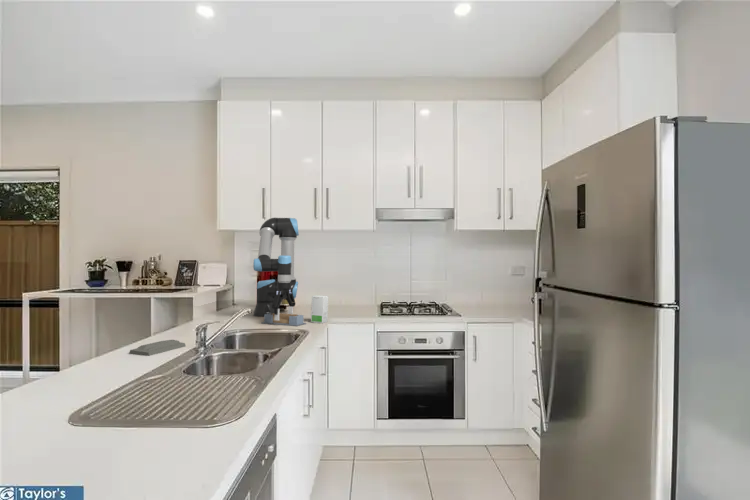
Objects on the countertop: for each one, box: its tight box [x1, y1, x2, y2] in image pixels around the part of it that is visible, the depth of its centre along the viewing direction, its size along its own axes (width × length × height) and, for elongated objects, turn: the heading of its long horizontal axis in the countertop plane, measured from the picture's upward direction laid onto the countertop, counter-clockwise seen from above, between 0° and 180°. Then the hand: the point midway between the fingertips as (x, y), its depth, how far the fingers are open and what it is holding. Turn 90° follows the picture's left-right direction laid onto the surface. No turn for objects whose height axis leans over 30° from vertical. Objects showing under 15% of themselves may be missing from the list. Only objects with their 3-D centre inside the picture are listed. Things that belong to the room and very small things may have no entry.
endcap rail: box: [261, 313, 307, 327], centre depth 258 cm, size 10×24×5 cm, turn 67°
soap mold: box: [128, 339, 187, 357], centre depth 181 cm, size 10×20×4 cm, turn 161°
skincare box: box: [310, 295, 329, 324], centre depth 266 cm, size 8×7×16 cm
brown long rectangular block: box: [271, 312, 299, 324], centre depth 258 cm, size 4×16×5 cm, turn 67°
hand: (283, 319), depth 258 cm, fingers open, 13 cm apart
